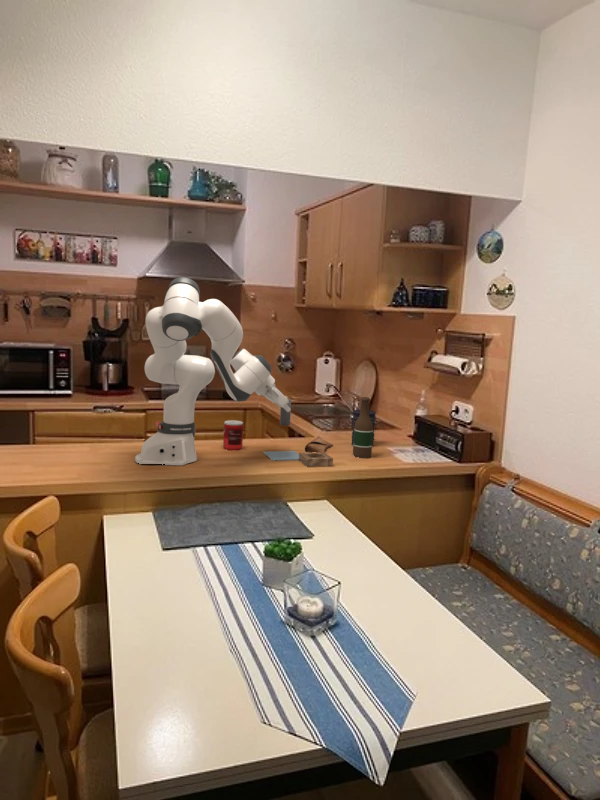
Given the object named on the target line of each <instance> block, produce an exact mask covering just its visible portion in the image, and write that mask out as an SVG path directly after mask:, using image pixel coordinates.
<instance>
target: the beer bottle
mask: <svg viewBox="0 0 600 800" xmlns="http://www.w3.org/2000/svg"><path fill="white" fill-rule="evenodd" d="M360 400H361V403H360V409H359V410H360V415H359V418H358V419H357V420H356V423H355V427H354V440H353V445H352V455H354V456H355V457H354V456H353V457H354V458H357V457H359V458H358V459H369V458H368V457H370V458H372V453H373V447H372V439H373V424H372V421H371V419H370V416H369V410H370V401H371V398H370V397H369V396H363V397H361V398H360Z"/></svg>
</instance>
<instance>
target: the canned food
mask: <svg viewBox="0 0 600 800" xmlns="http://www.w3.org/2000/svg"><path fill="white" fill-rule="evenodd" d="M243 436H244V422H243V421H241V420H236V419H235V420H232V419H231V420H229V419H228V420H224V422H223V444H222V445H223V449H224V450H226V449H227V451H232V450H236V451H240V449H241V450H242V448H243V440H244V439H243V438H244V437H243Z"/></svg>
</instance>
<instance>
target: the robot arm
mask: <svg viewBox="0 0 600 800" xmlns="http://www.w3.org/2000/svg"><path fill="white" fill-rule="evenodd" d="M200 298H201V292H200V287H199V285H198V283H197V282H196V281H195V280H193V279H191V278H189V277H184V276H182V277H176V278H174V279H172V280H171V282H170V283H169V285H168V286H167V289H166V291H165V293H164V296H163V299H164V302H163V305H161V306H157V307H153V308H152V309H150V310H149V311H148V312H147V313H146V315H145V319H144V320H145V322H144V323H145V328H146V332H147V335H148V338H149V341H150V343H151V345H152V347H153V348H152V349H153V351H154V353H153V354H150V355H149V356H148V357H147V359H146V360H145V363H144V373H145V376H146V378H147V379H148V380H149V381H152V382H154V383H159V384H165V385H167V384H168V385H179V387H178V391H177V392H175V393H173V394H171V395H169V396H167V397H166V398H165V400H164V402H163V417H162V418H163V420H162V421H159V420H158V421H156V422H155V426H156V428H157V432H156V433H154V434H153V435H151V436H149V438H147V439H146V440H145V441H144V442H143V444H142V446H141V449H140V453H138V454H136V455H135V457H134V462H135V463H137V464H138V463H139V465H141V464H162V465H161V466H184V465H186V464H189V463H194V462H196V461H197V460H198V456H197V452H196V444H195V437H196V436H195V435H196V423H195V408H196V407H195V406H196V401H197V399H198V396H199V394H200V392H201V391H202V390H203V389H204V388H205V387H206V386H207V385H209V384H210V383H211V382H212V381H213V379H214V378H215V374H216V370H217V373H218V374H219V376H220V378H221V381H222V382H223V386H224V388H225V390H226V392H227V394H228V395H229V397H231V399H233V401H235V402H246V401H248V400H249V398H250V397H251V396H252V394H253V393H255V394H257V396H262V397H265V398H266V399H267V400H268V401H270V402H271V403H273V404H274V405H276V406H278V407H280V408H281V407H282V408H284V409H285V411H286V412H289V411H290V410H291V409H292V408H291V409H290V408H289V406H288V405H287V404H288V403H289V401H288V399H289V398H286V397H285V396H286V395H284V394H283V393H282V392H281V391H280V390H279V389H278V388H277V386H276V384H275V382H276V379H275V378H274V377H273V376H272V375H271V374H272V365H271V364H270V363H269V361H268V360H266V358H265V357H264V356H263V355H262V354H261V355H260V354H258V355H257V354H256V355H253V354H252V353H250V352H249V351H248V350H247V349H245V348H241V349H239V347H240V346H241V344H242V341H243V337H244V331H243V327H242V325H241V322H240V321H239V319H238V318H237V317H236V315H235V314H234V313H233V311H231V309H230V308H229V307H228V306H226V305H225V304H224V303H223V302H222V301H221V300H219V299H217V298H210V299H209V298H208V299H206V300H204V301H203V302H202V301H200ZM202 330H203V331H204V332H205V334H206V335H207V336H208V337H209V338H210V339H209V340H210V342H211V349H210V353H209V355H210V357H211V359H210V358H209V357H205V356H200V355H193V354H192V355H191V354H185V353H186V351H187V345H188V344H187V341H186V340H189V339H190V340H191V338H193V337H196V336H198V335H200V333H201V332H202ZM238 349H239V351H237V350H238ZM231 367H232V368H233V369H234V371H235V372H233V370H232V368H231ZM215 368H216V369H215ZM163 464H165V465H163Z"/></svg>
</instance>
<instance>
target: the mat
mask: <svg viewBox="0 0 600 800" xmlns="http://www.w3.org/2000/svg"><path fill="white" fill-rule="evenodd" d="M262 453H263V454H264V455H265V456H266V455H267V456H268V457H269V458H270V459H271V461H272V460H273V461H272V462H275V460H278V462H279V461H280V460H281V461H299V453H298V452H297V451H295V450H283V451H282V450H280V451H278V450H276V451H275V450H274V451H263V452H262ZM267 456H266V457H267ZM268 457H267V458H268ZM269 458H268V459H269Z"/></svg>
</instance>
